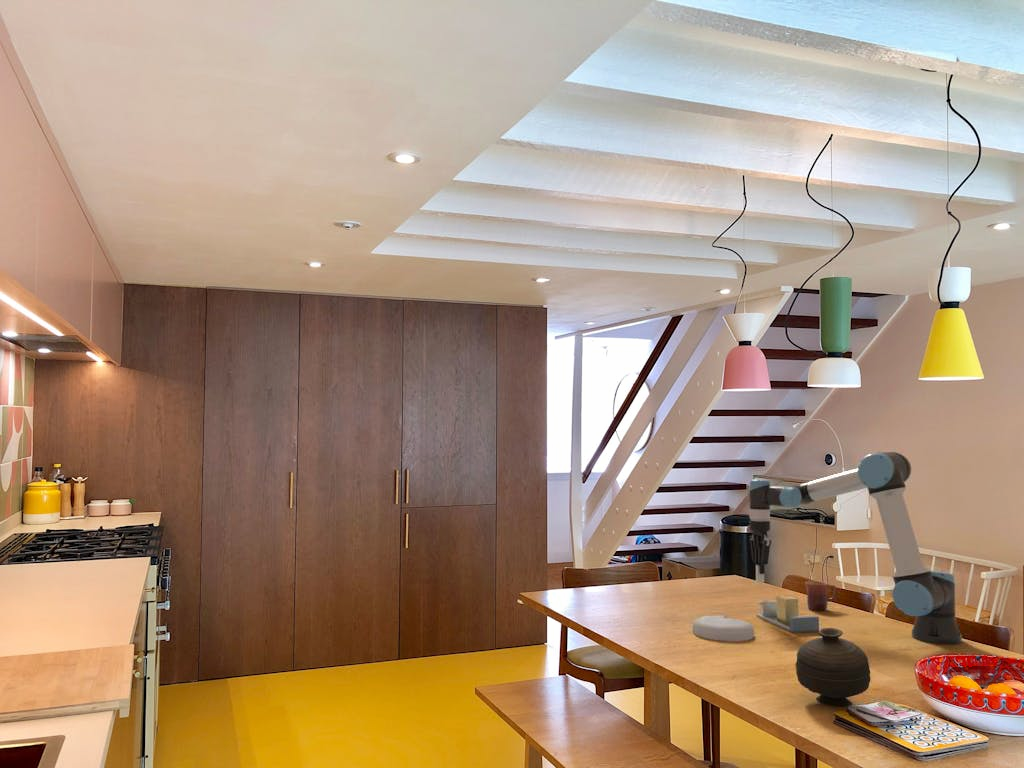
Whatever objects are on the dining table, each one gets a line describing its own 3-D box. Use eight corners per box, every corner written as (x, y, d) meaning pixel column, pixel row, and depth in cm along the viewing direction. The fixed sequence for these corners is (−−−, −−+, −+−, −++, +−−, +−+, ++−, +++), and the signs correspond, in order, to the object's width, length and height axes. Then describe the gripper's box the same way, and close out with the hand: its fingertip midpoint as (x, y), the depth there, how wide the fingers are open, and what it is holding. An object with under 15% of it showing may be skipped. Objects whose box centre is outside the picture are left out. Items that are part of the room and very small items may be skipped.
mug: (808, 611, 323) (808, 585, 323) (803, 606, 332) (802, 580, 332) (840, 612, 322) (840, 585, 322) (834, 607, 330) (833, 581, 331)
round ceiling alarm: (673, 632, 292) (673, 614, 293) (738, 628, 298) (737, 610, 299) (706, 650, 268) (706, 631, 269) (775, 646, 274) (775, 627, 274)
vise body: (819, 634, 287) (818, 616, 288) (793, 636, 285) (792, 618, 286) (780, 618, 312) (780, 601, 312) (756, 619, 310) (756, 603, 310)
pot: (801, 718, 205) (799, 636, 206) (791, 695, 222) (790, 620, 223) (878, 724, 201) (876, 640, 202) (863, 700, 218) (861, 623, 219)
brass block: (798, 624, 296) (798, 598, 296) (785, 625, 295) (785, 599, 295) (789, 620, 302) (789, 595, 302) (776, 621, 301) (776, 596, 301)
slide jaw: (783, 615, 309) (783, 601, 310) (760, 616, 307) (760, 602, 308) (780, 614, 311) (780, 600, 312) (758, 615, 309) (757, 601, 310)
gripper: (777, 521, 312) (778, 585, 311) (760, 517, 325) (760, 578, 324) (759, 522, 311) (759, 585, 310) (742, 518, 324) (742, 579, 323)
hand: (760, 582), depth 317 cm, fingers closed
